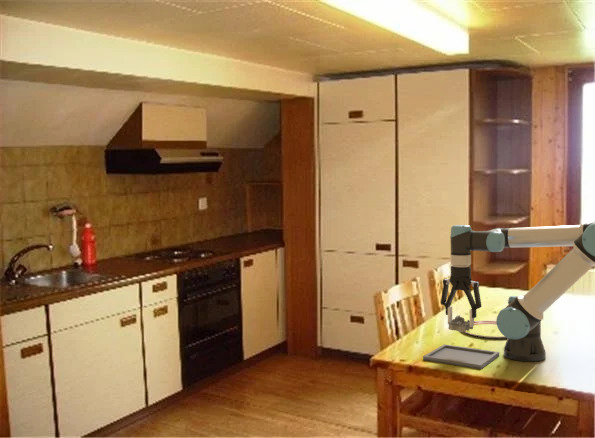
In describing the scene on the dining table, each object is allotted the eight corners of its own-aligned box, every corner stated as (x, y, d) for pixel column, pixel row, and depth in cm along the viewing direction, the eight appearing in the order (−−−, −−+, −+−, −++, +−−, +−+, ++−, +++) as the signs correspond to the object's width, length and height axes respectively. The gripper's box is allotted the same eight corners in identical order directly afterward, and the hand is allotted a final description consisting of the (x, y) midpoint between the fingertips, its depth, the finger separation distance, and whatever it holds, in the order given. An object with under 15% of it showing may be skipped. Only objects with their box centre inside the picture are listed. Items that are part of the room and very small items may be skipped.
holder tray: (499, 355, 240) (499, 352, 240) (480, 369, 224) (480, 365, 224) (444, 347, 253) (444, 344, 253) (423, 360, 237) (423, 356, 237)
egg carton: (458, 324, 245) (459, 314, 245) (476, 328, 240) (477, 318, 240) (445, 329, 237) (445, 318, 237) (463, 333, 232) (464, 322, 232)
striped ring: (529, 343, 258) (529, 335, 258) (461, 341, 264) (461, 333, 264) (519, 328, 285) (519, 321, 285) (458, 326, 291) (458, 319, 290)
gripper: (491, 266, 233) (491, 326, 235) (438, 262, 246) (439, 319, 247) (484, 268, 227) (484, 330, 229) (431, 265, 240) (431, 323, 241)
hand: (460, 324), depth 238 cm, fingers closed on egg carton, 8 cm apart
